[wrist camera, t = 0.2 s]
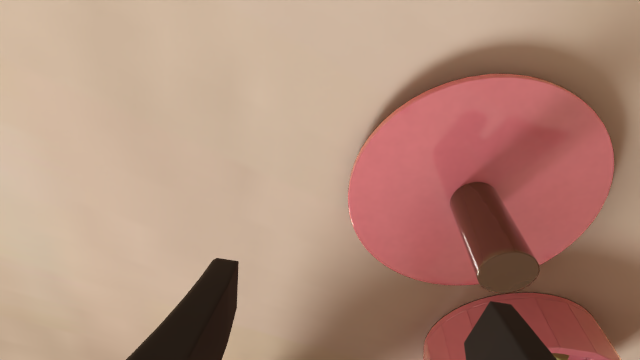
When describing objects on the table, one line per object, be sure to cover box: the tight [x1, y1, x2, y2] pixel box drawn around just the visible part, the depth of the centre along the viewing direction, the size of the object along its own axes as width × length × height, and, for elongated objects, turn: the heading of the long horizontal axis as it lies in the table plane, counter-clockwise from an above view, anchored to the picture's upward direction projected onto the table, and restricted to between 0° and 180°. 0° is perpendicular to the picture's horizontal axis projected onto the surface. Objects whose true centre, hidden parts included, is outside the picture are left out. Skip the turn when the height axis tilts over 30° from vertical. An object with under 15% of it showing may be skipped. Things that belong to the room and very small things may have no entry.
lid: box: [348, 74, 614, 293], centre depth 17 cm, size 13×13×6 cm
